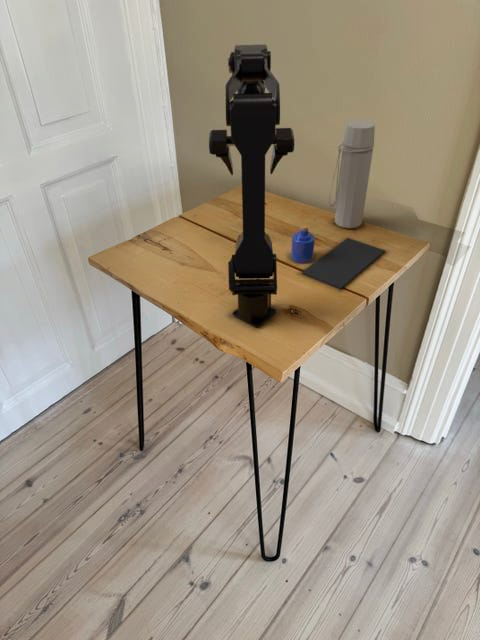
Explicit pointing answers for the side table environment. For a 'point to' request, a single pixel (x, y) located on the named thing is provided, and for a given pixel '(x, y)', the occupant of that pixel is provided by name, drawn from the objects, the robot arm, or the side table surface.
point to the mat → (343, 263)
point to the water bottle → (353, 173)
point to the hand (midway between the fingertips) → (251, 173)
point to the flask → (302, 245)
